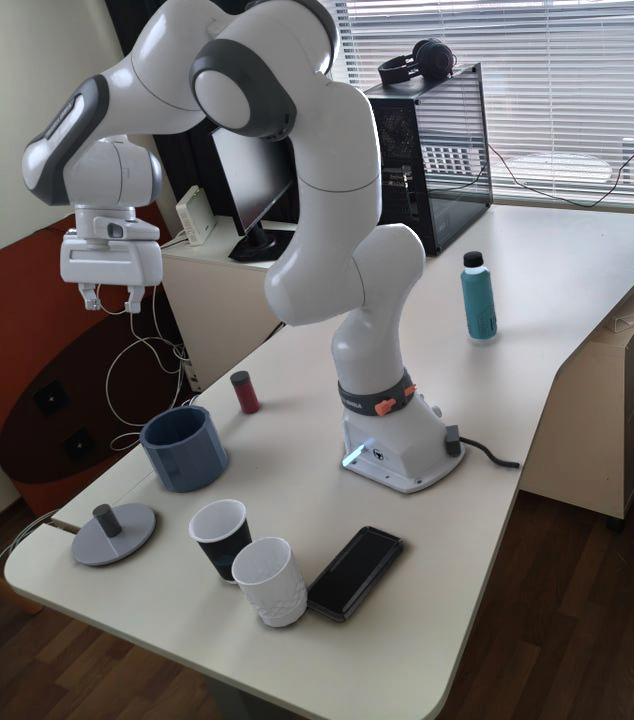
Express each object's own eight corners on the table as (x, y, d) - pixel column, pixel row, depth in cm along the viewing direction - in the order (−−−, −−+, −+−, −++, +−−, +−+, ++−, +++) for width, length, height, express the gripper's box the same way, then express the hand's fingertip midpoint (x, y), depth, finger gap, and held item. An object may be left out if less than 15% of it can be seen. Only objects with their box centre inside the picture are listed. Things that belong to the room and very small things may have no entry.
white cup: (290, 574, 101) (267, 528, 96) (324, 599, 97) (303, 551, 91) (246, 614, 97) (219, 567, 91) (279, 642, 92) (254, 594, 86)
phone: (405, 540, 103) (341, 618, 93) (407, 545, 104) (342, 624, 93) (364, 523, 107) (297, 597, 96) (365, 528, 107) (299, 602, 97)
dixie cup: (249, 542, 108) (228, 490, 102) (277, 567, 103) (256, 515, 97) (203, 574, 103) (178, 523, 97) (230, 602, 98) (205, 550, 92)
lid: (170, 532, 112) (155, 505, 108) (91, 582, 105) (73, 554, 101) (139, 497, 119) (124, 470, 116) (63, 541, 113) (46, 514, 109)
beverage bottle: (495, 346, 147) (486, 261, 136) (465, 345, 149) (453, 261, 138) (501, 330, 152) (492, 246, 141) (471, 330, 154) (460, 247, 143)
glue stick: (263, 407, 138) (252, 374, 133) (247, 416, 136) (235, 383, 131) (254, 400, 140) (243, 368, 136) (238, 409, 138) (226, 377, 134)
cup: (239, 465, 124) (221, 421, 118) (178, 502, 117) (156, 458, 112) (209, 439, 131) (191, 397, 125) (150, 472, 125) (128, 430, 119)
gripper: (46, 227, 116) (53, 309, 119) (134, 228, 108) (140, 316, 111) (80, 228, 122) (86, 306, 124) (167, 229, 114) (171, 313, 116)
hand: (112, 311), depth 117 cm, fingers open, 8 cm apart
